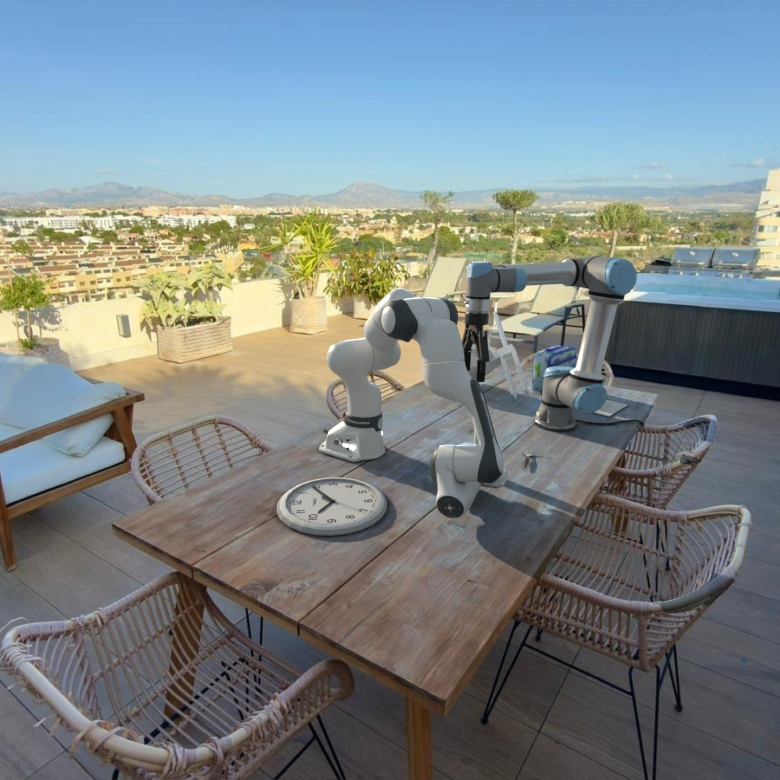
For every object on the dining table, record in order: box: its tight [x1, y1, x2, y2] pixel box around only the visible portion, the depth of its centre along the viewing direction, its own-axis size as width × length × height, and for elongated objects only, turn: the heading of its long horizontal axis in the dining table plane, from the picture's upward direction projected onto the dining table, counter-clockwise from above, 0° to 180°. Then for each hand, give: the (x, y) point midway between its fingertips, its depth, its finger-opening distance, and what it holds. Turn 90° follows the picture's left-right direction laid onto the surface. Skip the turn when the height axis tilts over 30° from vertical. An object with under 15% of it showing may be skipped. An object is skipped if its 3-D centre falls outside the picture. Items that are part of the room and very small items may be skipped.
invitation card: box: [593, 399, 629, 418], centre depth 226 cm, size 21×1×15 cm
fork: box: [524, 445, 535, 469], centre depth 172 cm, size 3×16×2 cm, turn 160°
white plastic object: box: [449, 310, 531, 400], centre depth 245 cm, size 37×45×31 cm
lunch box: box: [531, 345, 577, 393], centre depth 245 cm, size 26×11×21 cm, turn 134°
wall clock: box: [276, 476, 388, 537], centre depth 142 cm, size 30×2×30 cm
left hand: (476, 461), depth 156 cm, fingers open, 8 cm apart
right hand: (472, 376), depth 172 cm, fingers open, 13 cm apart
